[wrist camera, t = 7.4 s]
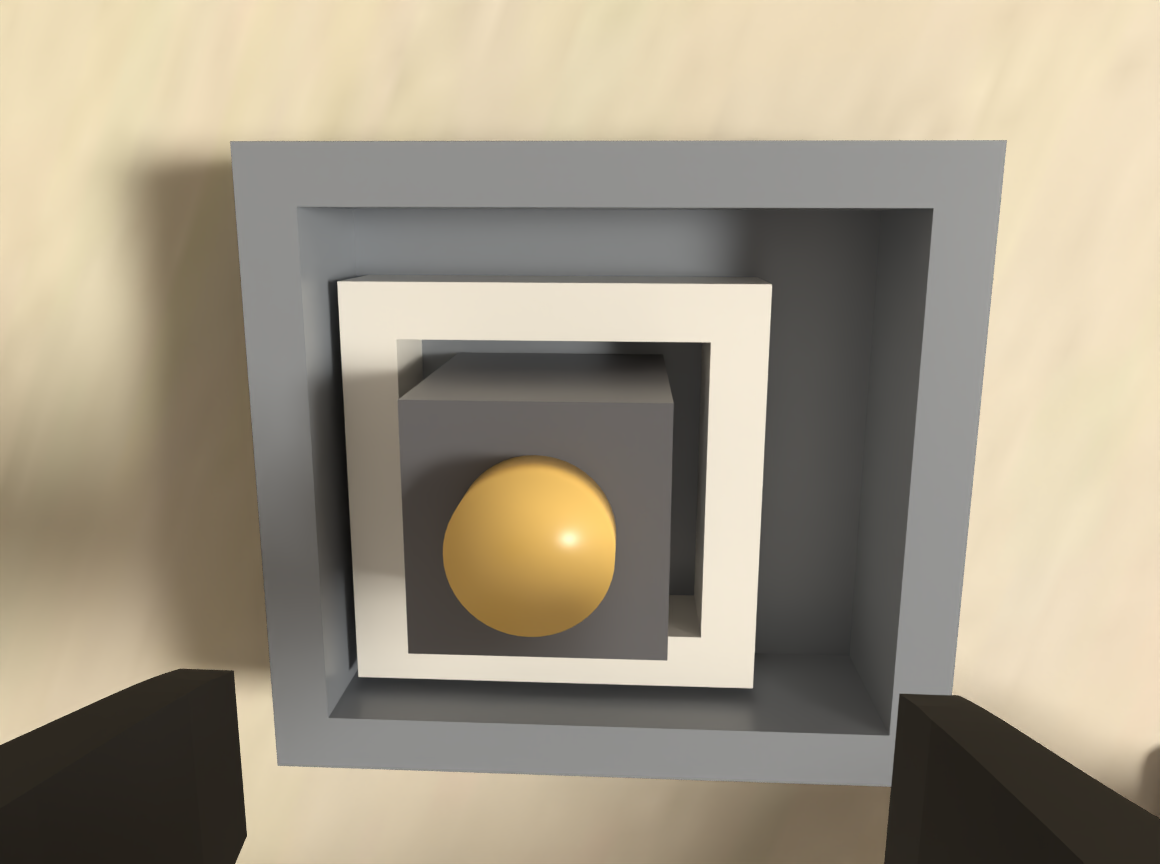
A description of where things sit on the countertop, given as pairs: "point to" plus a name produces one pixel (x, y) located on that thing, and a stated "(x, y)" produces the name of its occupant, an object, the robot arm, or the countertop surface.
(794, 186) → the box
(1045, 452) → the countertop surface
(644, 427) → the plug
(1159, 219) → the countertop surface
